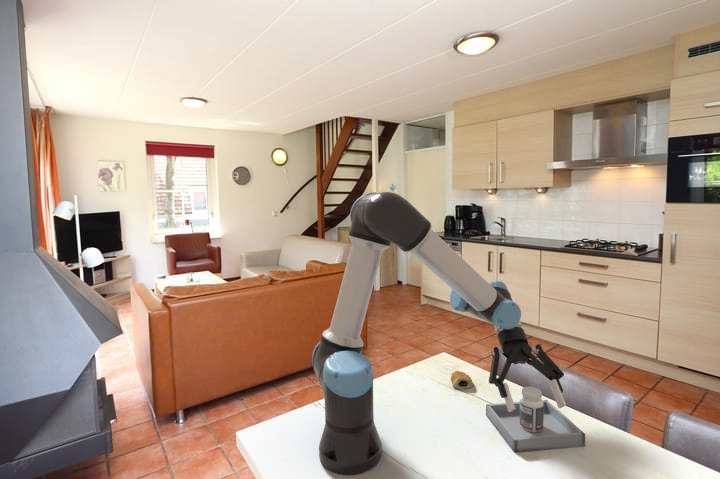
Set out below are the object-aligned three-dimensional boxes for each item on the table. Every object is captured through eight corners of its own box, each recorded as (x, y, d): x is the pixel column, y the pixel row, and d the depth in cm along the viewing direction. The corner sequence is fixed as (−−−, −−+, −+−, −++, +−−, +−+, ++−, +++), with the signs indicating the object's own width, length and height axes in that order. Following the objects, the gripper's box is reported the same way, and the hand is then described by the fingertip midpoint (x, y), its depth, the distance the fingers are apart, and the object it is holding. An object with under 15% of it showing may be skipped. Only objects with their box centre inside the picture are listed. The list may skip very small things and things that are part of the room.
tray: (514, 452, 91) (514, 440, 91) (485, 415, 107) (486, 404, 107) (584, 446, 93) (585, 433, 93) (546, 410, 109) (546, 399, 108)
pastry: (448, 376, 131) (448, 366, 131) (467, 376, 131) (467, 366, 131) (453, 390, 122) (453, 378, 122) (474, 390, 122) (474, 378, 121)
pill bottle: (538, 420, 102) (539, 385, 101) (546, 433, 97) (547, 396, 96) (516, 420, 103) (517, 385, 102) (523, 432, 97) (524, 395, 96)
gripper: (544, 334, 114) (576, 409, 101) (464, 339, 112) (485, 416, 99) (556, 323, 108) (590, 400, 95) (471, 327, 106) (495, 408, 93)
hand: (537, 408), depth 97 cm, fingers open, 13 cm apart
